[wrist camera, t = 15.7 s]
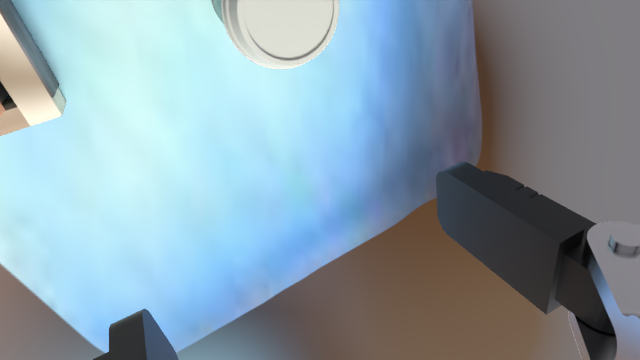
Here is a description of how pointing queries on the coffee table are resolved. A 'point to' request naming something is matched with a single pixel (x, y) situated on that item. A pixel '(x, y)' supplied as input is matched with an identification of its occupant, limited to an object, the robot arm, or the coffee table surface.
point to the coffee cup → (279, 29)
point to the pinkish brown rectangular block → (2, 97)
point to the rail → (24, 76)
